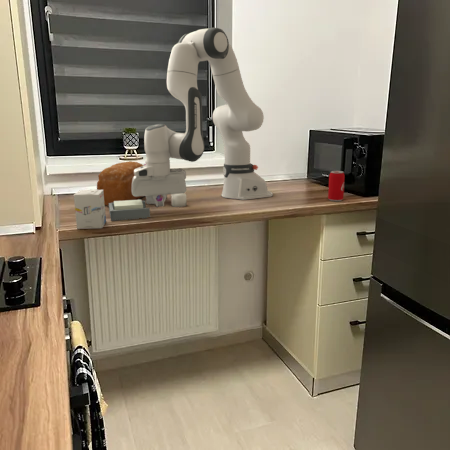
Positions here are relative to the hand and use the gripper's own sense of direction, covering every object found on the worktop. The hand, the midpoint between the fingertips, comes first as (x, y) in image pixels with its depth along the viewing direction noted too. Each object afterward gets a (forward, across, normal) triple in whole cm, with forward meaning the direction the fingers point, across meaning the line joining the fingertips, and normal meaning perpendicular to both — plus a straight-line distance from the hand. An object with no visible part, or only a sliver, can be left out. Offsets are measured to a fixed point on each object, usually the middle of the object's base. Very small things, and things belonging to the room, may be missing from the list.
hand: (160, 206), depth 169 cm
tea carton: (+3, +12, +1) cm, 12 cm away
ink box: (+2, +25, +11) cm, 28 cm away
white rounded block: (+3, -9, -10) cm, 13 cm away
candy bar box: (+3, -1, -20) cm, 20 cm away
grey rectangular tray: (+2, +11, 0) cm, 11 cm away
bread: (+3, +11, -28) cm, 30 cm away
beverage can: (+3, -73, +2) cm, 73 cm away
